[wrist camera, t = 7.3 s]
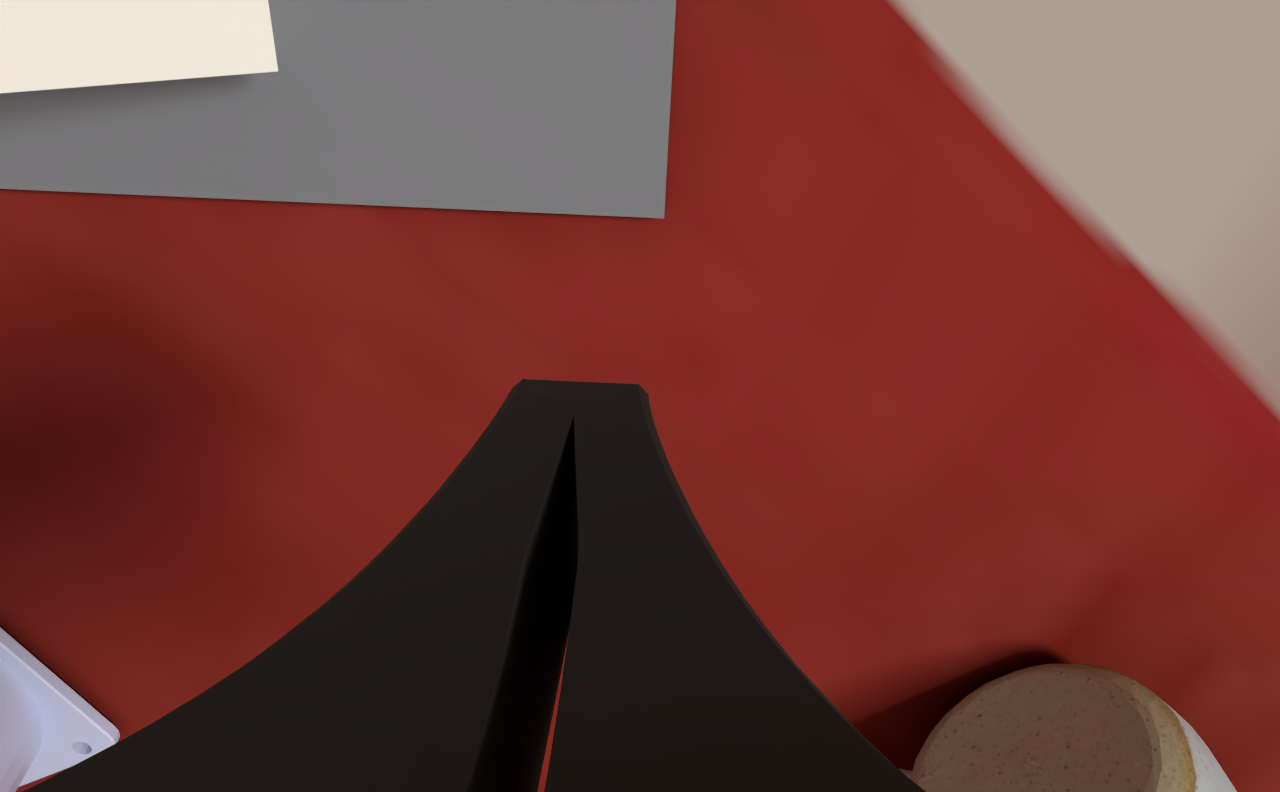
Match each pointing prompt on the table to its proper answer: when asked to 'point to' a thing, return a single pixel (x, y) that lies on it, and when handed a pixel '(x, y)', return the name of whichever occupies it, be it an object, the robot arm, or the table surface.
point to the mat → (385, 113)
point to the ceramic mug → (1065, 738)
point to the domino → (130, 41)
